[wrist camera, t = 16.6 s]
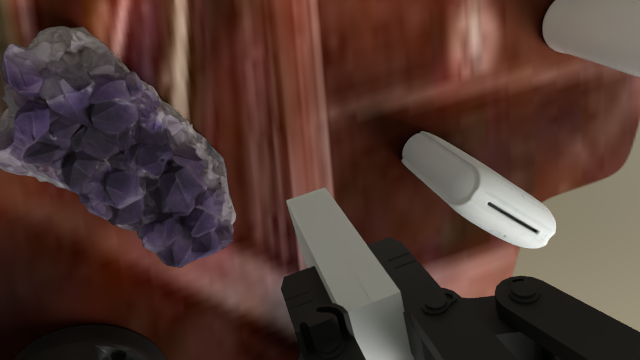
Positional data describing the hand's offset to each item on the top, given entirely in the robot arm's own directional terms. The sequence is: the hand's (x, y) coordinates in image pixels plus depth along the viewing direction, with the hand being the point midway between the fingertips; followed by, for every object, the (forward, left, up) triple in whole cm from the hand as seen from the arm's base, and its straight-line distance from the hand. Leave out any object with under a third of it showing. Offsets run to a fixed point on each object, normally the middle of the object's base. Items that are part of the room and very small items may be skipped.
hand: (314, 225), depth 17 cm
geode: (-10, -2, -24) cm, 26 cm away
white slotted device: (+17, -12, -24) cm, 32 cm away
